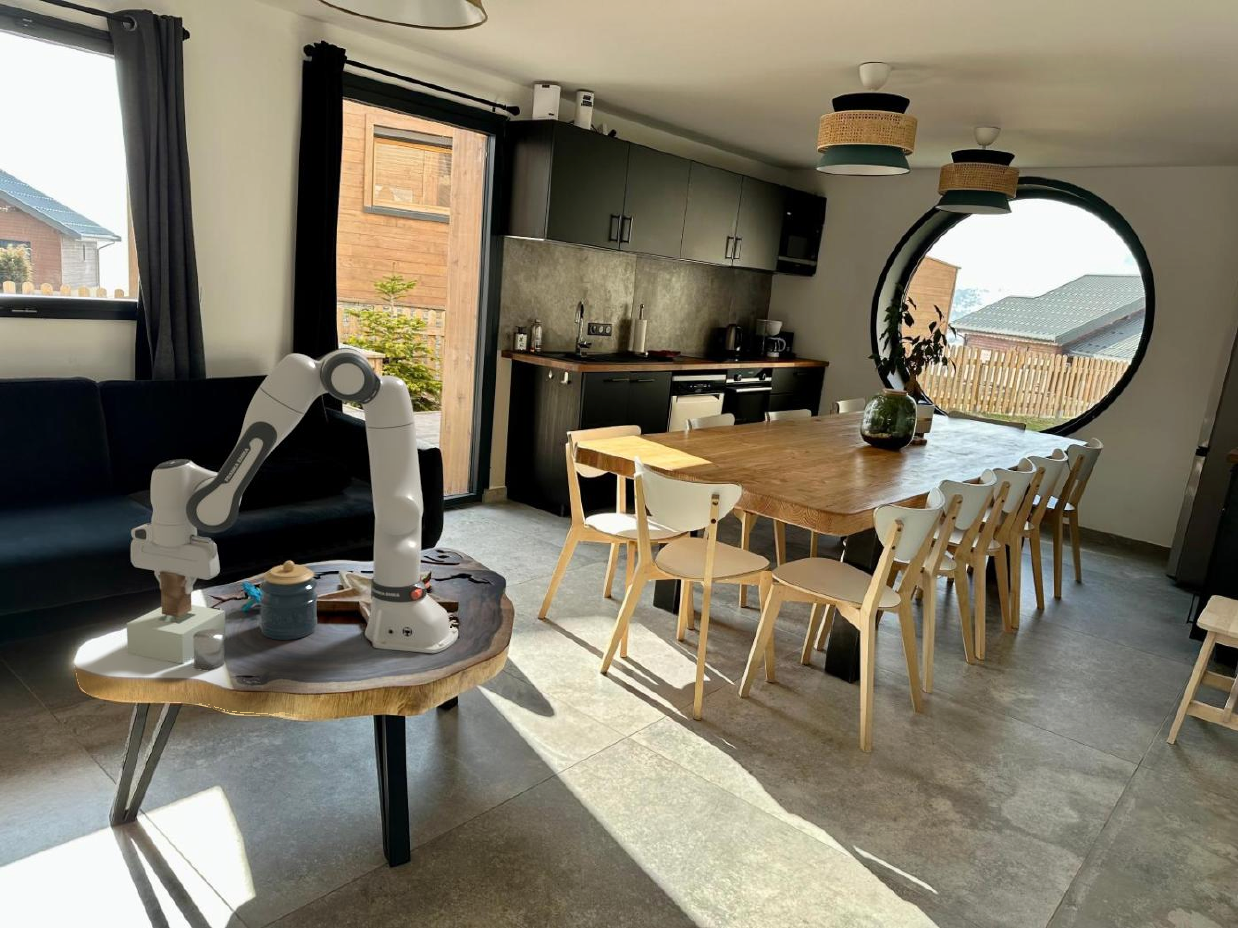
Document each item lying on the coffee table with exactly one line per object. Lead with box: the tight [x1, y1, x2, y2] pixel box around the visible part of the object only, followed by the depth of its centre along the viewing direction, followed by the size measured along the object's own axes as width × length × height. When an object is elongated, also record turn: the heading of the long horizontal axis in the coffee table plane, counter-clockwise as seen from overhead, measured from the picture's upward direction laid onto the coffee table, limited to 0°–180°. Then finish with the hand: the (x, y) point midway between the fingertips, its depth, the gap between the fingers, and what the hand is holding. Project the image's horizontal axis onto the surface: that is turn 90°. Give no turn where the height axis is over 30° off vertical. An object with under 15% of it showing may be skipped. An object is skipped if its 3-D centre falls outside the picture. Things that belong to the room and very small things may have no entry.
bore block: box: [126, 604, 226, 665], centre depth 191 cm, size 14×14×7 cm
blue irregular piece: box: [241, 581, 262, 613], centre depth 214 cm, size 11×6×10 cm
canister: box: [259, 560, 318, 641], centre depth 203 cm, size 13×13×18 cm
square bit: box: [160, 571, 192, 617], centre depth 189 cm, size 4×4×10 cm
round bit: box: [193, 629, 225, 671], centre depth 184 cm, size 6×6×7 cm
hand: (176, 590), depth 189 cm, fingers closed on square bit, 4 cm apart
